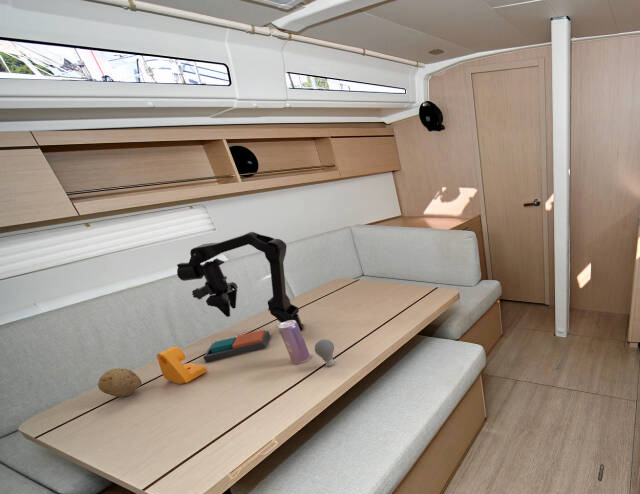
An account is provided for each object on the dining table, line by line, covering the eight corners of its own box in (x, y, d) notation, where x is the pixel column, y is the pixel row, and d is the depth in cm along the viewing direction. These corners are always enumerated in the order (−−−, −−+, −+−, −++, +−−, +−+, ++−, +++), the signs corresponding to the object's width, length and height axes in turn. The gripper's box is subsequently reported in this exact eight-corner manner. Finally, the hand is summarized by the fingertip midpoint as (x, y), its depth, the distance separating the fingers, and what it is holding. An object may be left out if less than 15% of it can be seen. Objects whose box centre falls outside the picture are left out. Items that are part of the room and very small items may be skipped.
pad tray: (270, 335, 149) (268, 330, 148) (265, 348, 139) (263, 342, 138) (215, 348, 142) (212, 343, 141) (206, 362, 133) (203, 357, 131)
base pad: (267, 336, 148) (264, 329, 146) (263, 346, 140) (260, 339, 138) (240, 342, 144) (237, 335, 143) (235, 352, 136) (231, 345, 135)
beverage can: (314, 356, 130) (300, 321, 124) (299, 365, 125) (284, 328, 119) (303, 353, 133) (289, 318, 126) (288, 362, 128) (273, 326, 121)
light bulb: (321, 371, 121) (312, 347, 116) (321, 363, 126) (312, 339, 121) (340, 366, 123) (331, 341, 119) (339, 358, 128) (330, 334, 124)
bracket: (209, 372, 126) (193, 343, 121) (187, 384, 120) (170, 355, 115) (188, 369, 129) (172, 341, 124) (166, 381, 123) (148, 352, 118)
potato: (106, 398, 117) (88, 373, 112) (141, 383, 123) (126, 359, 119) (112, 407, 112) (93, 381, 107) (148, 391, 118) (132, 366, 114)
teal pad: (239, 344, 143) (235, 336, 141) (235, 351, 138) (231, 343, 136) (218, 349, 140) (214, 341, 139) (214, 356, 135) (210, 348, 134)
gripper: (197, 274, 143) (214, 308, 149) (180, 288, 127) (200, 326, 134) (229, 268, 147) (245, 302, 153) (217, 282, 131) (234, 319, 138)
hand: (231, 312), depth 144 cm, fingers open, 9 cm apart
